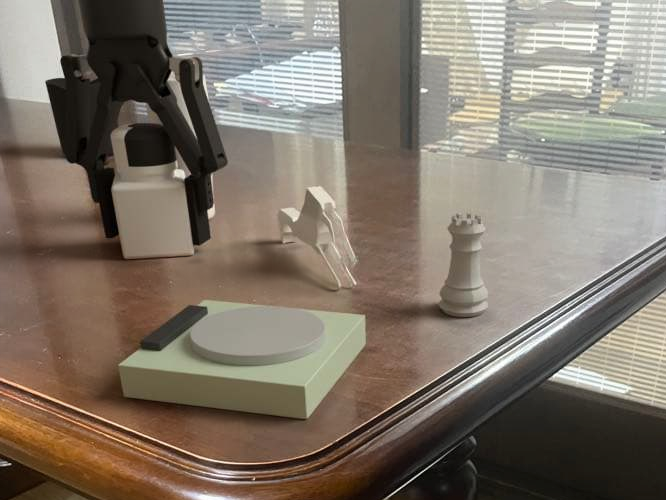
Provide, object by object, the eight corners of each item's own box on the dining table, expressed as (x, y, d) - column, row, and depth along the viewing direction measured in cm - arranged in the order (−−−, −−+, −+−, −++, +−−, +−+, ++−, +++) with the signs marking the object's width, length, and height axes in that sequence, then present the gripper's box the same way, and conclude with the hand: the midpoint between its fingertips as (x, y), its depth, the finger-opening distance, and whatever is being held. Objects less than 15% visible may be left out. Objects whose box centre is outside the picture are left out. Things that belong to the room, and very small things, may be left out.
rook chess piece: (496, 315, 77) (502, 221, 72) (449, 321, 75) (452, 225, 71) (476, 298, 80) (480, 208, 76) (430, 304, 79) (432, 212, 74)
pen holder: (89, 162, 129) (75, 86, 123) (47, 155, 133) (31, 81, 128) (137, 151, 136) (125, 78, 130) (95, 144, 140) (82, 74, 134)
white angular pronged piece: (348, 340, 88) (291, 228, 96) (362, 246, 79) (297, 132, 87) (331, 343, 87) (275, 230, 96) (343, 249, 78) (279, 133, 86)
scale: (123, 397, 63) (115, 354, 61) (207, 328, 74) (202, 289, 72) (307, 419, 60) (304, 375, 58) (366, 344, 71) (365, 305, 69)
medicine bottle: (193, 237, 97) (177, 118, 90) (194, 256, 91) (177, 130, 84) (126, 241, 95) (105, 120, 89) (123, 260, 90) (100, 133, 83)
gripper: (247, -13, 80) (269, 236, 93) (37, -16, 85) (84, 222, 98) (212, -9, 75) (240, 256, 87) (-12, -12, 79) (45, 240, 92)
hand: (158, 238), depth 93 cm, fingers closed on medicine bottle, 9 cm apart
